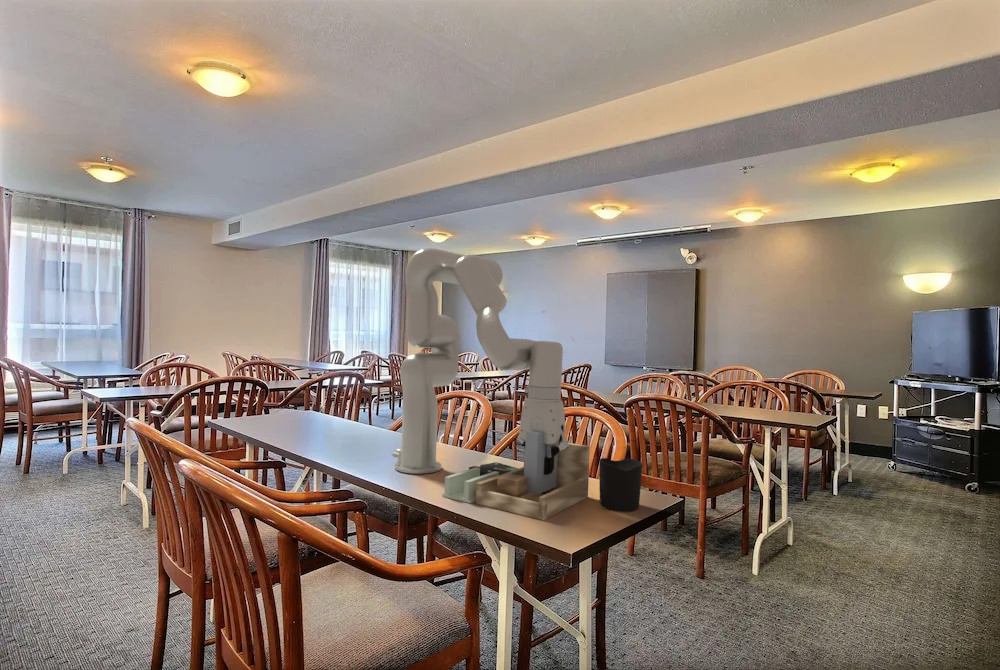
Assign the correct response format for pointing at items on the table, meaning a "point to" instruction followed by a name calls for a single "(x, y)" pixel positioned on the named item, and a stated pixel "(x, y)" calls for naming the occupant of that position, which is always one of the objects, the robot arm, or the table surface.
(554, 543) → the table surface
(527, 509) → the tray
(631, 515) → the table surface
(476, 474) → the stand
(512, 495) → the offcut
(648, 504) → the table surface
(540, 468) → the blue-grey flat block
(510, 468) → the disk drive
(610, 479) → the pen holder
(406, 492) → the table surface
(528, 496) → the offcut
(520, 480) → the offcut
